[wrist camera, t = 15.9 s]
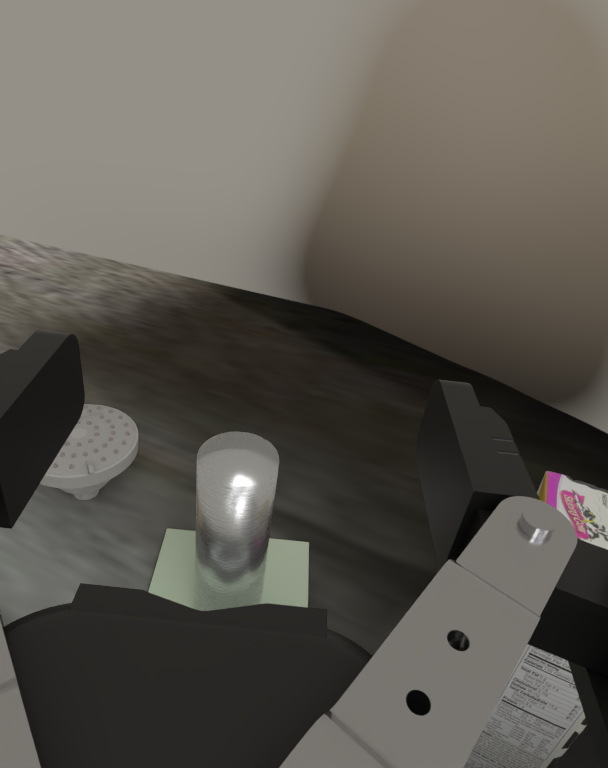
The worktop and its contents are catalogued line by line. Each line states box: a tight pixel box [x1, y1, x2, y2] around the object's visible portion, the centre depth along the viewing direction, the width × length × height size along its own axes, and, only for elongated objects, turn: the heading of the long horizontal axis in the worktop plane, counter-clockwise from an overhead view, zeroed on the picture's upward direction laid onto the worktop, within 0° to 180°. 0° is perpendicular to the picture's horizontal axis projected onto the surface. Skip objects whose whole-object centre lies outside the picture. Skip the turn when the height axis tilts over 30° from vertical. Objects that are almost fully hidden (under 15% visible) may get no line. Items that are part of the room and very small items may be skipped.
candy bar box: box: [463, 471, 608, 768], centre depth 34 cm, size 11×5×16 cm, turn 157°
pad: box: [148, 528, 309, 609], centre depth 42 cm, size 12×12×1 cm
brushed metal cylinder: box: [194, 432, 279, 611], centre depth 37 cm, size 5×5×15 cm
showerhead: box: [40, 404, 138, 500], centre depth 47 cm, size 9×7×10 cm
